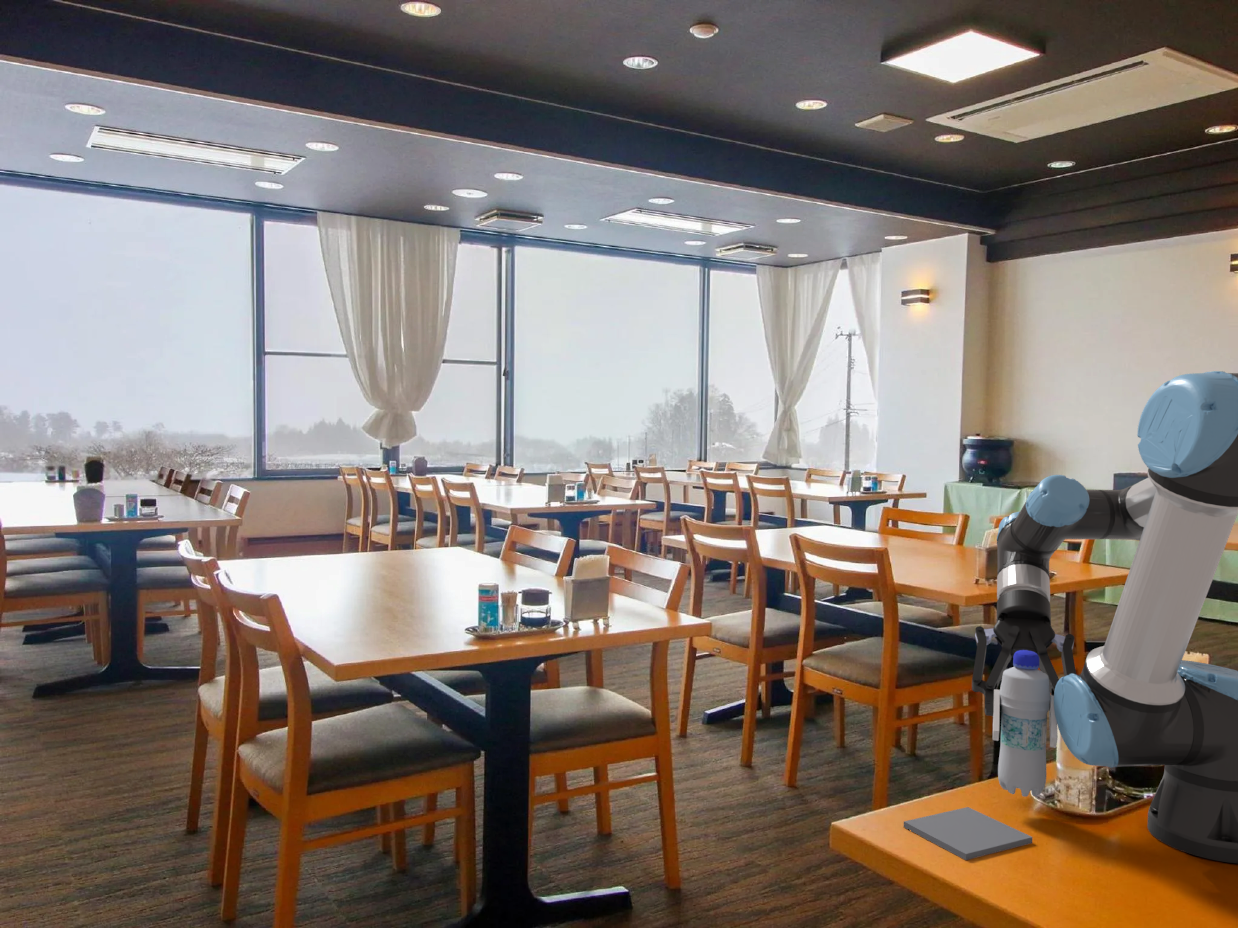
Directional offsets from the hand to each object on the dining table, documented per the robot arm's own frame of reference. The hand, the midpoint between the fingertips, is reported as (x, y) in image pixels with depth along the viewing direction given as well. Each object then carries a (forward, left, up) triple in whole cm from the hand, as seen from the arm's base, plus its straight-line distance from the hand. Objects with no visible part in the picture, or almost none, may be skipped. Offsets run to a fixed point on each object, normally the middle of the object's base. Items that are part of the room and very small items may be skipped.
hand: (1024, 738), depth 133 cm
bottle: (+2, -3, -9) cm, 9 cm away
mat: (+1, +10, -12) cm, 15 cm away
